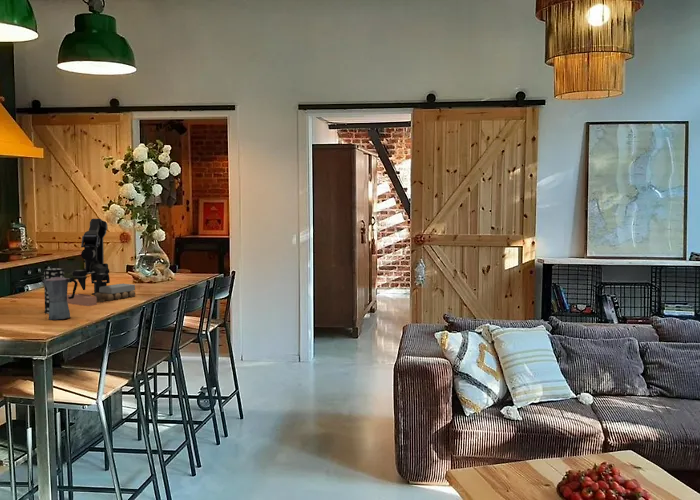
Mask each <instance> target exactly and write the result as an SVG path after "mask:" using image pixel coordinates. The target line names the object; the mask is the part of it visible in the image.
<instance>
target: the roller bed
mask: <svg viewBox="0 0 700 500" xmlns="http://www.w3.org/2000/svg"><path fill="white" fill-rule="evenodd" d="M94 296H95V297H96V298H97V303H99V302H100V303H105V301H107V302H113V300H116V299H117V301H119V300H120V299H127V298H134V297H135V296H136V290H134V291H127V292H121V293H114V294H108V293H95V295H94ZM118 299H119V300H118Z"/></svg>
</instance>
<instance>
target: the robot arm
mask: <svg viewBox="0 0 700 500" xmlns="http://www.w3.org/2000/svg"><path fill="white" fill-rule="evenodd" d="M107 231H108V223H107V221H105V220H103V219H101V218H91V219H90V221H89V228H88V230H87V231H85V232H84V233H83V235H82V237H81V245H80V247H81V248H84V249H83V250H82V251H81V252H80V253H81V255H80V256H81V258H82V259H83V261H82V262H83V263H84V268H83V269H76V270H73V271H72V274H71V275H72V277H74V279H76V281H77V282H79V285H80V286H81V289H82V290H83V291H86V281H87V278H88V276H87V275H90V279H91V280H90V281H91V284H92V285H93V291H94V293H93V292H92V293H91V294H92V295H94V296H95V293H99V288H100V287H101V286H108V284H110V283H111V280H110V279H111V278H110V269H109V264H108V263H106V262H105V260H104V259H105V258H104V257H105V255H104V252H105V251H104V237H105V236H106V235H107Z"/></svg>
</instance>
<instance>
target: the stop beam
mask: <svg viewBox="0 0 700 500" xmlns="http://www.w3.org/2000/svg"><path fill="white" fill-rule="evenodd" d="M72 294H73V293H71V294H67V303H68V305H69V304H71V305H78V306H83V307H84V306H86V307H90V306H96V305H97V304H98V302H97V303H96V297H95V295H94V296H93V295H91V294H86V293H75V295H74V298H73V299H68V297H71V296H72Z"/></svg>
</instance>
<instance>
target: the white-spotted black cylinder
mask: <svg viewBox="0 0 700 500" xmlns="http://www.w3.org/2000/svg"><path fill="white" fill-rule="evenodd" d="M55 273H58V277H62V278H65V269H64V268H60V267H59V268H58V267H54V268H51V267H50V268H44V270H43V277H44V278H43V280H45V279H50V278H54V277H55ZM43 287H44V291H43V292H44V313H45V314H48V315H49V305H50V301H49V296H48V291H47V288H46V287H45V285H44V284H43Z"/></svg>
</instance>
